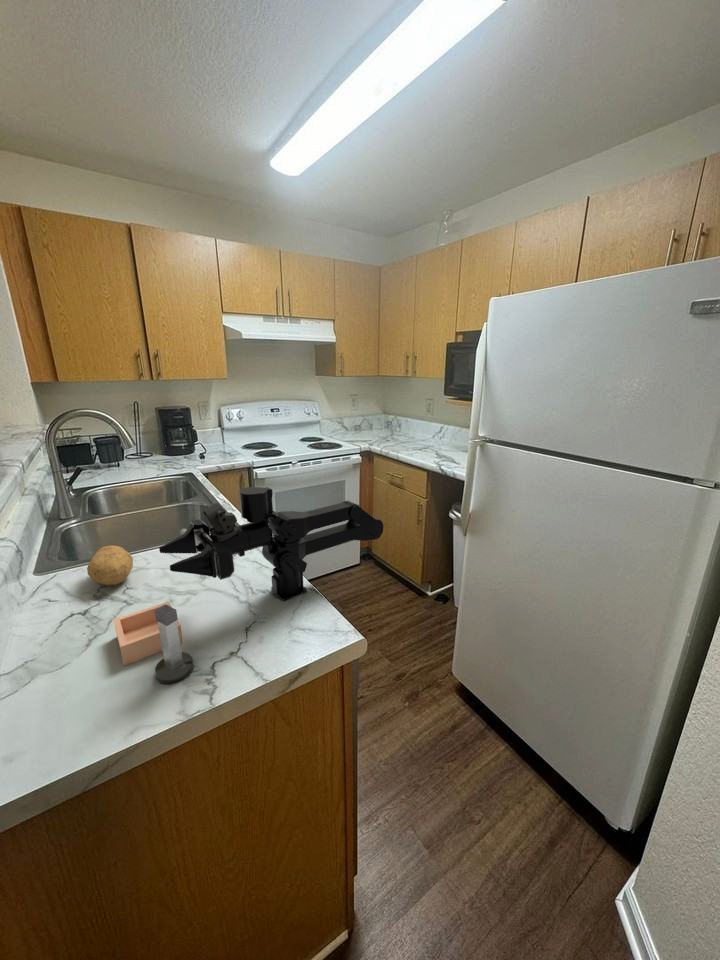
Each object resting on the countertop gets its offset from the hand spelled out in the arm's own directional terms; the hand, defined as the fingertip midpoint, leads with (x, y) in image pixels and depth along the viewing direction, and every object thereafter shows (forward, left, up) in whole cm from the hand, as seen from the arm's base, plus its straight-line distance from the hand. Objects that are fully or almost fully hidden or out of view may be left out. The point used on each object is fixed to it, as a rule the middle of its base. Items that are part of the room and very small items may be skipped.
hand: (164, 558), depth 73 cm
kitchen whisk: (-15, -35, -17) cm, 42 cm away
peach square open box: (+5, -1, -16) cm, 17 cm away
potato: (+8, -31, -17) cm, 36 cm away
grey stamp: (+3, +11, -17) cm, 20 cm away
